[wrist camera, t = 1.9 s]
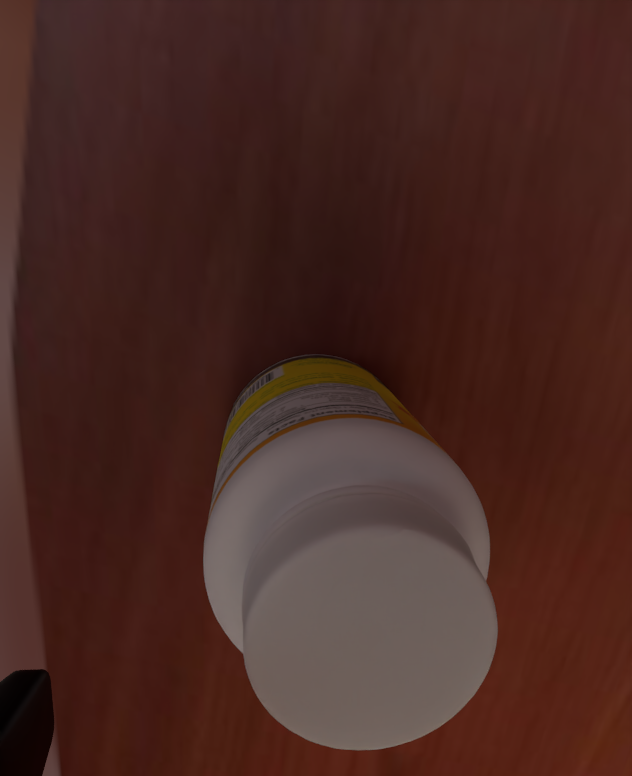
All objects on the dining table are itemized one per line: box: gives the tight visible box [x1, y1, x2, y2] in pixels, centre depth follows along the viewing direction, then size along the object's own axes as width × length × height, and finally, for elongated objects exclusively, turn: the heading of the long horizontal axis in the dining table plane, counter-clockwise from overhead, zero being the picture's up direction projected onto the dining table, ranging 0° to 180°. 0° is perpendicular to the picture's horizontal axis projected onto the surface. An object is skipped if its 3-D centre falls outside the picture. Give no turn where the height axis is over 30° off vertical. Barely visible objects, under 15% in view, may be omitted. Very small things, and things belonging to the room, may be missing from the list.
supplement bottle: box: [203, 354, 498, 750], centre depth 14 cm, size 6×6×10 cm
